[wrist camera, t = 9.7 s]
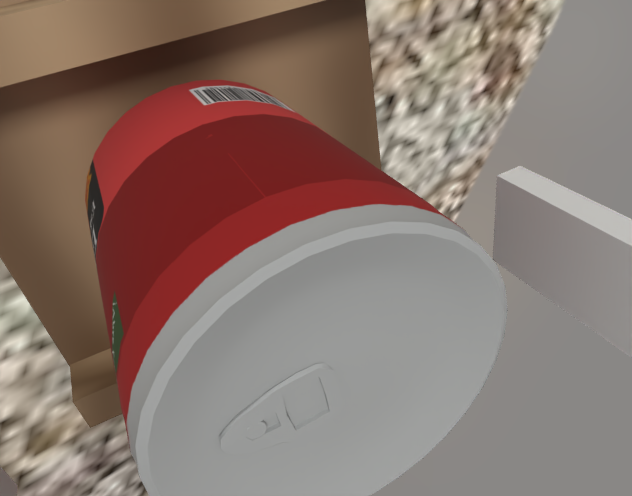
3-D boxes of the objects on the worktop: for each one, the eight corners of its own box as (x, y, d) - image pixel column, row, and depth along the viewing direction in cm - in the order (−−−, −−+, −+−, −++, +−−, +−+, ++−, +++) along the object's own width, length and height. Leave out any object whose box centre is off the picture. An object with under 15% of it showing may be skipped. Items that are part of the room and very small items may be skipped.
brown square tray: (68, 357, 24) (77, 459, 20) (-169, -21, 15) (-259, 3, 10) (369, 235, 28) (434, 296, 24) (325, -120, 19) (418, -135, 15)
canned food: (25, 169, 16) (17, 446, 7) (238, 20, 17) (457, 120, 8) (176, 313, 21) (275, 581, 12) (337, 194, 21) (539, 372, 13)
